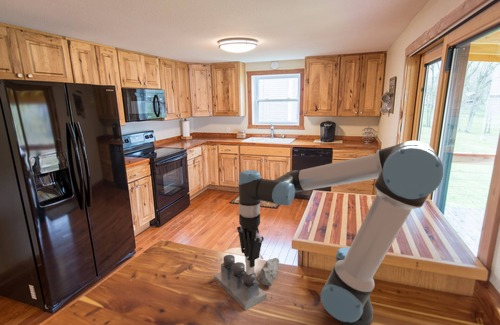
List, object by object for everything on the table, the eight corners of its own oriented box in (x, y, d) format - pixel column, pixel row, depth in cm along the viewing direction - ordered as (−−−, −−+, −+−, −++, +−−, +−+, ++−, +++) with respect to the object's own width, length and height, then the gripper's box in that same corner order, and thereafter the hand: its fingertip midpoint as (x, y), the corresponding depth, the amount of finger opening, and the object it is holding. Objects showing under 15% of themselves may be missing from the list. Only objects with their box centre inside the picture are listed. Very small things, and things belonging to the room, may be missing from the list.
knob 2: (247, 287, 105) (246, 266, 103) (237, 292, 102) (237, 270, 100) (240, 281, 109) (240, 260, 107) (231, 286, 106) (230, 265, 104)
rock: (265, 264, 122) (265, 251, 120) (280, 268, 119) (281, 254, 118) (254, 285, 107) (254, 270, 106) (271, 289, 105) (271, 274, 104)
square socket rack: (266, 298, 100) (266, 282, 99) (245, 310, 94) (245, 293, 93) (233, 270, 117) (233, 256, 116) (214, 279, 111) (214, 264, 110)
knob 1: (237, 278, 110) (236, 258, 108) (227, 283, 108) (227, 262, 106) (231, 273, 114) (230, 253, 112) (221, 277, 111) (221, 257, 109)
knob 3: (258, 297, 100) (258, 275, 98) (248, 302, 97) (248, 279, 95) (250, 290, 103) (250, 269, 101) (241, 295, 100) (241, 273, 98)
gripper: (269, 216, 90) (269, 277, 95) (247, 206, 100) (247, 261, 105) (252, 222, 86) (253, 286, 90) (230, 210, 96) (232, 268, 101)
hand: (250, 272), depth 98 cm, fingers closed
